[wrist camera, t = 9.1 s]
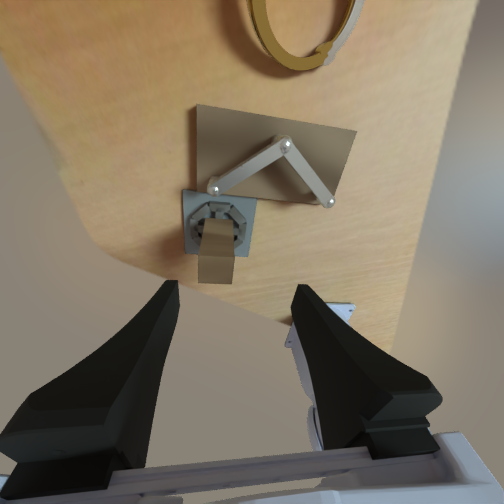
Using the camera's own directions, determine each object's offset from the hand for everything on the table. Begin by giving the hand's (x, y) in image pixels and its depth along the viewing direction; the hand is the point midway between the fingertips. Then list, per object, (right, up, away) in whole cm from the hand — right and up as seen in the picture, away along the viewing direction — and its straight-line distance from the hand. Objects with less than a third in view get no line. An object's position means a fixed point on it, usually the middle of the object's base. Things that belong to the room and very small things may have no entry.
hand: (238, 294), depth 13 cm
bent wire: (+2, +10, +5) cm, 12 cm away
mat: (-2, +5, +8) cm, 10 cm away
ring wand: (-2, +5, +7) cm, 9 cm away
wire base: (+2, +10, +5) cm, 12 cm away
